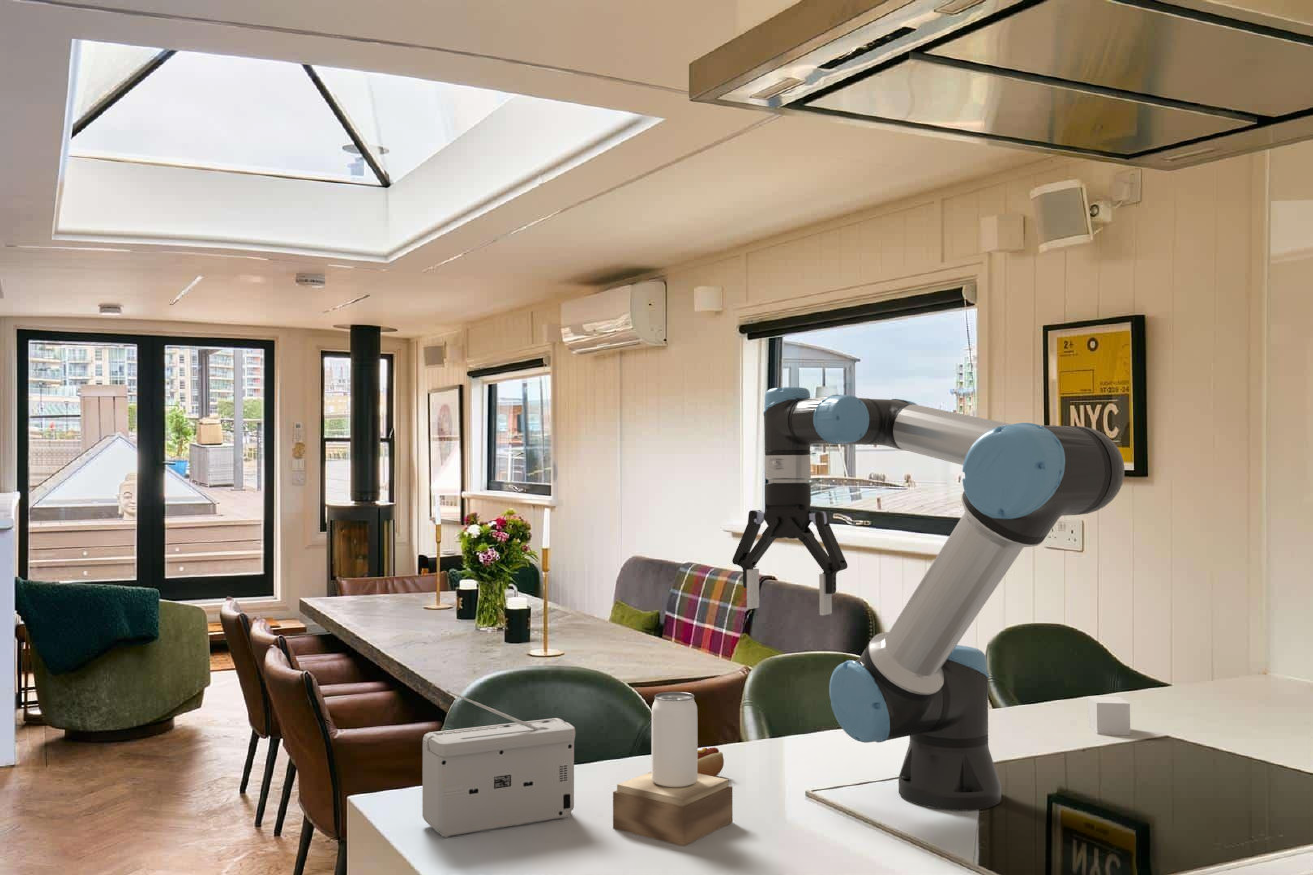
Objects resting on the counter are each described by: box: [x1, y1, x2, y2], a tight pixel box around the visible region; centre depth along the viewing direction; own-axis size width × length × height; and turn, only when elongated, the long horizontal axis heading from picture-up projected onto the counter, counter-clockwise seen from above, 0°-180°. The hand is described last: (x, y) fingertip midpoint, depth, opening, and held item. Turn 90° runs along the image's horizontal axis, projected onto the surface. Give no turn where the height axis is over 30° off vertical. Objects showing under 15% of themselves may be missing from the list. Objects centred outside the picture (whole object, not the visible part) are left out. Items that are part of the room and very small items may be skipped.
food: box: [697, 746, 725, 777], centre depth 169 cm, size 14×6×5 cm, turn 142°
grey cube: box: [1087, 695, 1131, 736], centre depth 203 cm, size 6×6×6 cm
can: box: [651, 691, 699, 788], centre depth 149 cm, size 6×6×12 cm
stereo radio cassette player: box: [422, 689, 576, 839], centre depth 151 cm, size 21×8×20 cm, turn 117°
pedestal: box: [612, 771, 734, 847], centre depth 149 cm, size 12×12×6 cm
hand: (788, 611), depth 174 cm, fingers open, 13 cm apart
